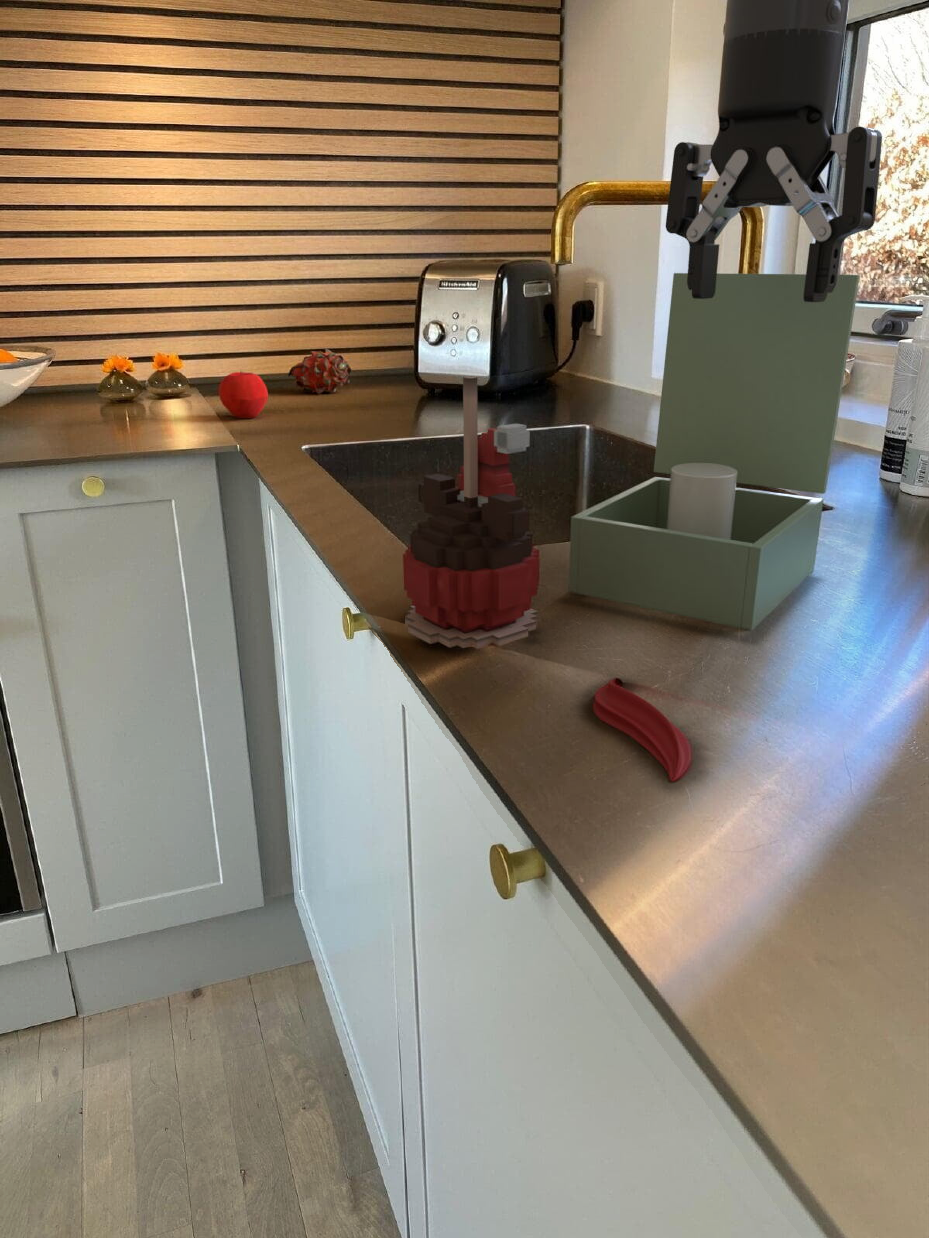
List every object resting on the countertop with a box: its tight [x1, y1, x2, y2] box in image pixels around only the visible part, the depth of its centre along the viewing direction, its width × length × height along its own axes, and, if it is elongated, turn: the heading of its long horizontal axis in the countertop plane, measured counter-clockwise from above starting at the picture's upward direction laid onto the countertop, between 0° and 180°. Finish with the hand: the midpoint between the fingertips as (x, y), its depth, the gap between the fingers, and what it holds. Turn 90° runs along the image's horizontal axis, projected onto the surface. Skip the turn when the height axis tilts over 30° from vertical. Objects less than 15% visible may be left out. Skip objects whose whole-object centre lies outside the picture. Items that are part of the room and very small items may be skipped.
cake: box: [402, 375, 540, 650], centre depth 65 cm, size 11×9×18 cm
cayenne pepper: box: [592, 677, 692, 783], centre depth 54 cm, size 12×5×2 cm, turn 179°
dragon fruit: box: [287, 348, 352, 395], centre depth 177 cm, size 8×8×12 cm
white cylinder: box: [667, 463, 738, 540], centre depth 74 cm, size 5×5×9 cm
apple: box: [218, 370, 269, 419], centre depth 152 cm, size 8×8×7 cm
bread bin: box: [568, 476, 824, 631], centre depth 75 cm, size 16×15×7 cm
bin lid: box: [653, 272, 861, 495], centre depth 78 cm, size 16×15×5 cm
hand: (756, 300), depth 67 cm, fingers open, 8 cm apart
